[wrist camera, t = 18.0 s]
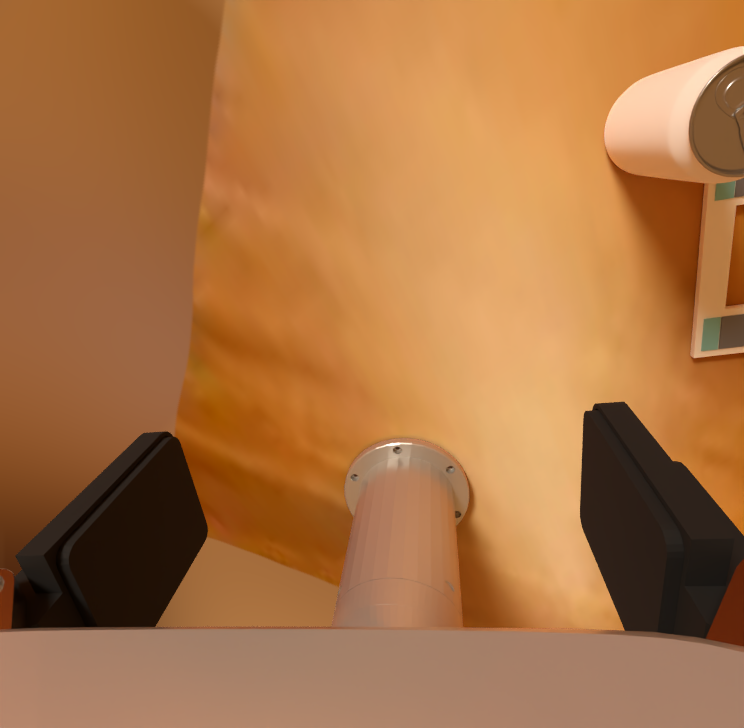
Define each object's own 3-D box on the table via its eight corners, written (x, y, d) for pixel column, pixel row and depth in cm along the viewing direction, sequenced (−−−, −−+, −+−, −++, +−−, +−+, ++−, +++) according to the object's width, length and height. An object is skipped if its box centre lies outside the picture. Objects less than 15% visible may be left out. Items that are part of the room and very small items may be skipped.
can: (676, 51, 32) (800, 2, 22) (714, 137, 34) (847, 131, 23) (585, 116, 35) (657, 100, 24) (626, 193, 36) (710, 212, 25)
